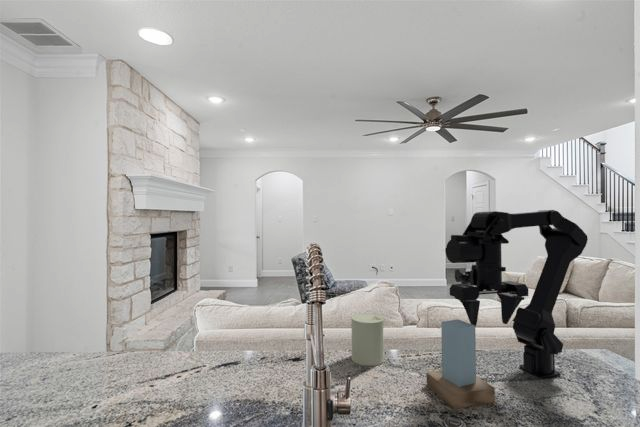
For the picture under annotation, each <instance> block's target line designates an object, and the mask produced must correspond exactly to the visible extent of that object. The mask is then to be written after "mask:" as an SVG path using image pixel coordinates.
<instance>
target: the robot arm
mask: <svg viewBox="0 0 640 427" xmlns="http://www.w3.org/2000/svg"><path fill="white" fill-rule="evenodd" d="M552 226H553V227H552ZM530 227H531V228H532V227H538V229H539V234H540V235H541V236H542V237H543V239H544V241H545V242H544V247H545V251H546V254H547V257H546V259H545V262H544V265H543V267H542V270H541V273H540V276H539V278H538V280H537V284H536V286H535V289H534V292H533V294H532V297H531V300H530V302H529V304H528V305H527V306H525V307H524V308H523V307H521V306H520V307H519V305H520V303H521V302H522V301H524V300H525V297H529V287H528V286H527V285H526V284H525V283H522V282H517V281H512V280H508V281H507V280H505V281H504V280H503V272H506V270H507V268H506V267H505V266H503V265H502V264H503V263H502V262H503V261H502V244H504V245H505V244H509V242H510V241H509V240H508V239H507V238H505V236H504V235H503V234H505V233H508V232H510V231H512V230H513V229H519V228H530ZM588 240H589V239H588V235H587V234H586V233H585V230H583V228H581V227H580V226H579V225H578V224H577V223H575V222H573V221H572V220H569V219H568V218H566V217H564V216H563V215H562V214H561V213H560V212H559V211H558V210H555V209H545V210H544V209H543V210H540V209H539V210H538V211H530V212H529V211H528V212H517V213H510V212H505V211H498V210H496V211H493V210H492V211H478V212H475V213H474V214H473V215H472V216H471V220H470V222H469V224H467V226H466V228H465V230H464V232H463V233H462V235H460V234H451V235H450V240H449V241H448V242H447V243H446V247H445V256H446V258H447V260H448V261H449V262H450V263H451V264H462V263H463V264H465V263H469V264H470V263H475V264H472V265H471V266H470V268H471V270H469V271H468V270H467V271H466V270H465V269H464V268H458V269H455V270H454V280H455V282H457V283H455V284H454V283H453V284H451V285H450V287H449V296H451V297H454V299H455V300H456V301H457V300H458V301H459V302H460V303H461V304H462V306H463V308H464V310H465V312H466V316H467V318H468V320H469V324H472V325H475V328H476V327H477V323H478V317H479V311H480V304H481V301H480V300H478V298H479V297H480V295H490V294H491V295H493V294H494V295H495V294H496V295H497V296H498V298H499V301H500V308H501V309H500V312H501V321H502V324H504V325H508V323H509V321H510V320H511V318H512V316H513V314H514V313H515V316H514V318H512V320H511V321H512V322H513V324H512V330H513V331H514V334H515V336H516V340H517V342H518V343H521V344H523V353H522V354H523V356H522V358H523V359H522V360H523V364H519V368H521V369H522V370H524V371H526V372H528V373H531V374H532V375H534V376H536V377H538V378H539V379H544V378H545V379H546V378H552V377H557V376H561V372H559V371H557V370H555V369H556V368H555V367H556V366H555V364H556V363H555V356H556V355H558V354H560V353H562V352H563V348H564V343H563V342H562V341H561V340H560V338H558V337H557V335H556V334H555V330H556V324H555V320H554V316H553V311H554V307H555V305H556V303H557V300H558V297H559V295H560V292H561V289H562V286H563V284H564V280H565V277H566V275H567V272H568V269H569V266H570V264H571V263H572V261H574V260H575V259H577V258H578V257H579V256H581V255H582V254H583V251H584V249H585V248H586V246H587V244H588ZM515 310H516V311H515Z"/></svg>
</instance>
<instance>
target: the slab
mask: <svg viewBox="0 0 640 427" xmlns="http://www.w3.org/2000/svg"><path fill="white" fill-rule="evenodd" d="M426 386H427V387H429V388H430V389H431V390H432V391H433V392H434V393H435V394H436V395H437V396H438V397H440V398H441V399H442V400H443V401H445V402H446V403H447V405H449V406H450V407H452V408H453V409H460V408H468V407H473V406H480V405H486V404H491V403H492V404H493V403H495V402H496V396H495V395H496V393H495V390H496V389H495V387H494V386H492V385H490V383H488V382H486V381H485V380H483V379H481V378H480V377H479V376H477V375H476V383H473V384H469V385H465V386H461V387H458V386H456V385H455V384H453V383H452V382H450V381H448V380H447V379H445V378H443V377H442V369H440V370H433V371H426Z"/></svg>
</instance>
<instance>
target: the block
mask: <svg viewBox="0 0 640 427" xmlns="http://www.w3.org/2000/svg"><path fill="white" fill-rule="evenodd" d="M440 326H441V327H440V328H441V330H440V331H441V333H440V334H441V370H442V377H443V378H445V379H447V380H448V381H450V382H452V383H453V384H455V385H456V386H458V387H461V386H465V385H469V384H473V383H476V376H477V358H476V356H477V354H476V353H477V352H476V351H477V348H476V339H477V338H476V327H475V325H472V324H471V323H470V322H466V321H463V320H461V319H458V318H457V319H452V320H445V321H441V325H440Z"/></svg>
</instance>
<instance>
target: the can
mask: <svg viewBox="0 0 640 427" xmlns="http://www.w3.org/2000/svg"><path fill="white" fill-rule="evenodd" d="M350 320H351V361H352V362H353V363H355V364H357V365H360V366H365V367H375V366H379V365H382V364H383V363H384V362H385V353H384V352H385V351H384V321H385V320H384V317H383V316H381V315H378V314H376V313H367V312H366V313H365V312H364V313H357V314H353V315H351V318H350Z"/></svg>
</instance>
